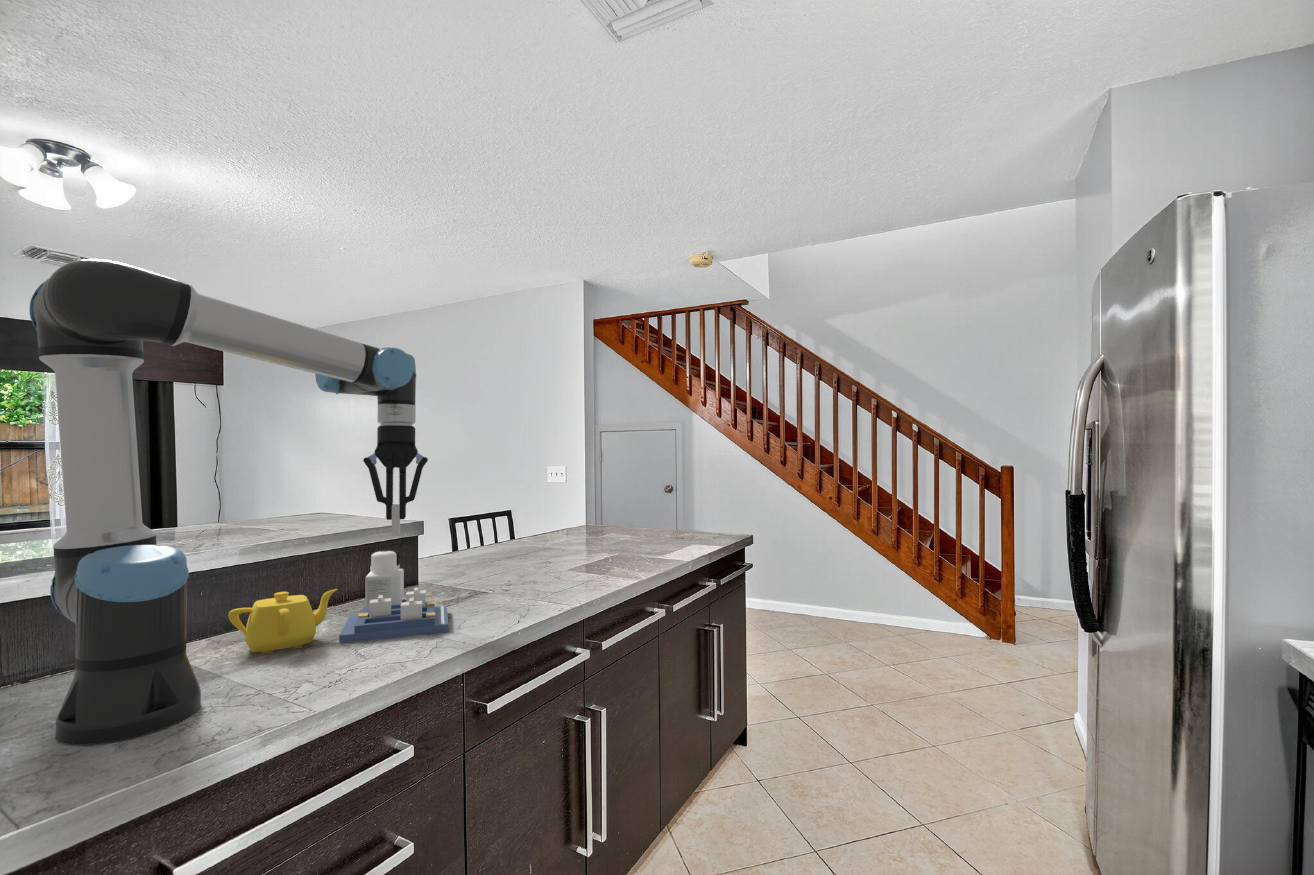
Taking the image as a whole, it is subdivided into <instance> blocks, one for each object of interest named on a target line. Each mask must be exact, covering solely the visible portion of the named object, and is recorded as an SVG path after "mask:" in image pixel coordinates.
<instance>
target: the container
mask: <svg viewBox="0 0 1314 875" xmlns="http://www.w3.org/2000/svg"><path fill="white" fill-rule="evenodd" d="M400 553H401V552H399V551H398V550H396V549H383V550H381V549H380V550H375V551H374V552H372V553H371V554H370V561H369V564H370V565H369V566H370V568H369V570H370V572H369V573H368V574H367V575H366V576H365V581H364V582H365V584H364V585H365V586H364V587H365V588H364V589H365V599H364V600H365V601H364V602H365V603H364V604H365V606H369V602H370V600H375V599H378V597H379V595H383V599H387V598H391V604H399V603H402V602H404V601H403V600H404V598H405V597H404V596H405V593H404V592H405V591H404V590H405V588H404V587H405V583H404V582H405V581H404V580H405V576H404V575H405V574H404V573H405V570H404V568H400V567H401V566H400V565H401V564H400V563H401V562H400V561H401V557H400V556H401V554H400ZM365 606H364V607H365Z"/></svg>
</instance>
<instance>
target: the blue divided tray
mask: <svg viewBox="0 0 1314 875" xmlns="http://www.w3.org/2000/svg"><path fill="white" fill-rule="evenodd" d="M435 605H436V601H435V600H426V606H422V618H417V619H407V620H401V603H399V604H391V615H385V616H375V617H369V606H363V607H362V608H361V611H360V612H359V613H353V614H349V615H348V618H347V620H346V622H345V624H344V626H343V628H342V630H341V631H340V632H339V638H338V644H345V643H346V644H347V643H355V642H363V641H371V640H382V639H389V638H390V639H392V638H400V637H401V638H402V637H410V636H419V635H429V634H437V633H447V632H449V619H448V617H449V616H448V606H447V605H442V606H441V605H440V606H435Z"/></svg>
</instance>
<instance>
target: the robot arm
mask: <svg viewBox="0 0 1314 875" xmlns="http://www.w3.org/2000/svg"><path fill="white" fill-rule="evenodd" d="M28 313H29V317H30V320H31V322H32V325H33V327H34V329H35V330H36V333H37V334H36V335H37V346H38V347H37V348H38V356H39V357H38V358H39V359H38V360H39V361H41V362H42V363H44V364H45V365H46V366H48V367H49V368H50V369H52V370H53V372H54V377H55V389H56V390H55V391H56V403H57V406H56V407H57V417H58V420H57V421H58V431H59V446H60V459H61V471H62V472H61V473H62V485H63V486H62V487H63V497H64V498H63V499H64V502H63V503H64V514H65V515H64V516H65V526H66V528H65V529H66V532H65V534H64V535H63V536H62V537H61V538H59V540H57V541H56V542H55V543H54V544H53V545H52V549H53V562H54V563H53V564H54V575H53V578H52V579H51V585H50V587H49V589H50V591H49V594H50V598H51V602H52V604H53V606H54V608H55V609H56V610H57V611H58V613H59V614H60V615H62V616H63V617H64V618H65V619H66V620H68V621H69V622H70V621H71V622H72V623H73V624H74V625H75V656H74V657H75V663H74V664H75V666H74V670H75V671H74V676H73V678H72V680H71V684H70V685H69V687H68V688H69V689H68V691H67V693H66V695H65V698H64V700H63V702H62V705H61V707H60V709H59V712H58V715H57V717H56V720H55V739H56V741H58V743H61V744H66V745H72V746H73V745H74V746H77V745H78V746H79V745H80V746H81V745H85V746H86V745H98V744H104V743H113V742H117V741H122V740H128V739H131V738H136V737H140V736H142V735H146V734H150V733H153V732H157V731H159V730H162V729H165V728H167V727H170V726H172V725H175V724H177V723H179V722H181V721H183V720H185V719H188V718H189V717H191V716H192V715H193V714H194V713H196V712H197V711H199V709H200V707H201V704H202V697H201V696H202V690H201V686H200V684H199V681H198V679H197V677H196V675H195V672H194V670H193V668H192V666H191V662H190V660H189V657H188V655H187V628H188V626H187V622H188V621H187V618H188V616H187V615H188V610H187V609H188V578H189V575H190V574H189V570H190V569H189V568H188V560H187V557H186V554H185V553H184V552H183V551H182V550H180V549H178V548H177V547H174V546H167V545H159V546H158V544H157V533H156V532H155V531H154V530H152V529H151V528H149V527H148V526H147V525H145V524H144V523H143V512H142V511H143V510H142V500H141V499H142V497H141V483H140V482H141V481H140V471H139V470H140V468H139V456H138V455H139V454H138V452H139V451H138V440H137V438H138V437H137V427H136V426H137V424H136V412H135V400H134V399H135V398H134V397H135V396H134V384H133V373H134V371H135V370H136V369H137V368H139V367H140V366H141V365H142V364H144V363H145V359H144V342H143V341H145V342H152V343H153V342H154V343H158V344H164V345H167V346H172V347H175V346H177V345H180V344H182V343H187V344H193V345H196V346H200V347H205V348H209V349H212V350H217V351H221V352H224V353H225V352H226V353H229V354H233V355H238V356H242V357H246V358H249V359H254V360H259V361H260V362H261V361H262V362H267V363H271V364H275V365H279V366H281V367H282V366H283V367H287V368H291V369H295V370H300V371H303V372H308V373H310V374H311V373H312V374H314V375H315V378H314V379H315V382H316V385H317V387H318V388H319V389H320V390H321V391H323V392H326V393H332V394H336V395H339V394H343V395H358V396H359V395H360V396H362V395H363V396H371V397H373V396H374V397H377V399H376V400H377V423H378V424H380V425H379V426H377V431H376V432H377V434H376V436H377V437H376V438H377V440H376V441H377V442H376V443H377V444H376V447H375V449H374V452H373V453H372V454H371V455H369V456H367V457H366V456H365V457H364V458H363V463H364V464H365V466H366V467H367V468H368V471H369V475H370V480H371V484H372V487H373V491H374V496H375V498H376V501H377V502H378V503H382V504H384V505H385V518H386V520H387V521H388V520H389V521H390V520H391V536H392V537H398V536H400V535H401V520H405V519H406V516H407V514H406V513H407V503H410V502H413V501H414V500H415V499H416V495H417V491H418V487H419V483H420V480H421V476H422V472H423V469H424V468H425V466H426V464H427V463H428V461H429V459H428V457H426V456H424V455H422V454H420V453H419V452H418V448H417V446H416V427H415V426H413V425H414V424H415V423H416V412H417V411H416V408H417V407H416V389H417V388H416V387H417V386H416V385H417V371H416V369H417V368H416V367H417V366H416V360H415V359H416V358H415V357H414V356H413V355H412V354H409V353H407V352H406V351H404V350H403V349H400V348H397V347H382V348H380V347H376V346H373V345H369V344H366V343H362V342H359V341H355V340H353V339H349V338H347V337H346V338H345V337H342V336H339V335H335V334H332V333H329V332H325V331H322V330H318V329H315V328H312V327H309V326H307V325H302V324H299V323H296V322H293V321H289V320H286V319H283V318H279V317H276V316H274V315H270V314H266V313H263V312H260V311H256V310H253V309H250V308H246V307H243V306H239V305H236V304H234V303H230V302H226V301H223V300H221V299H217V298H213V297H210V296H207V295H204V294H201V293H198V292H197V291H196V289H195V288H194V286H193V285H192V284H191V283H188V282H186V281H181V280H178V279H175V278H171V277H168V276H165V275H163V274H159V273H155V272H153V271H149V270H146V269H144V268H141V267H137V266H134V265H129V264H127V263H123V262H119V261H112V260H109V259H104V258H103V259H101V258H86V259H79V260H75V261H70V262H69V263H66V264H64V265H62V266H60V267H59V268H57V270H55V271H54V272H53V273H52V275H51V276H50V277H49V278H48V279H46V280H44V281H43V282H42V283H40V284H39V285H38V286H37V288H36V289H35V290H34V293H33V294H32V296H31V298H30V301H29V312H28ZM415 458H416V460H415V463H416V464H417V465H416V468H415V470H414V471H415V472H414V474H413V480H412V482H411V485H410V486H411V487H410V492H409V494H408V496H407V468H408V466H409V465H410V464H411V463H412V462H413V460H414V459H415ZM377 459H378V461H379V462H380V463H381V464H382V465H383V467H384V468H385V476H386V477H385V481H386V482H385V496H384V492H383V489H382V485H381V482H380V477H379V473H378V470H377V467H376V465H377ZM394 468H397V469H398V470H399V472H398V473H399V476H398V478H399V479H398V480H399V483H398V484H399V485H398V486H399V488H398V496H399V497H398V498H399V499H398V500H399V503H394V470H395V469H394Z"/></svg>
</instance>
